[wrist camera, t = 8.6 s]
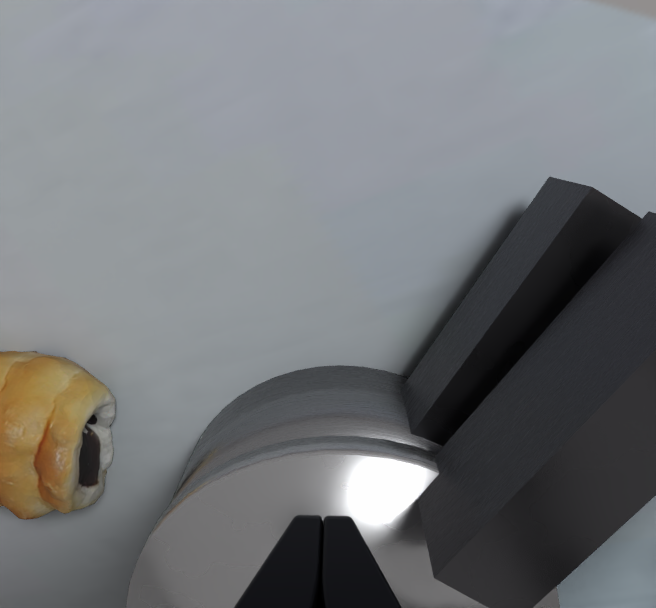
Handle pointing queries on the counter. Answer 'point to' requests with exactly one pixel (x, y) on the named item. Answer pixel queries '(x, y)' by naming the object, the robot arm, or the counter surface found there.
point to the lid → (454, 474)
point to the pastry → (52, 434)
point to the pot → (437, 344)
